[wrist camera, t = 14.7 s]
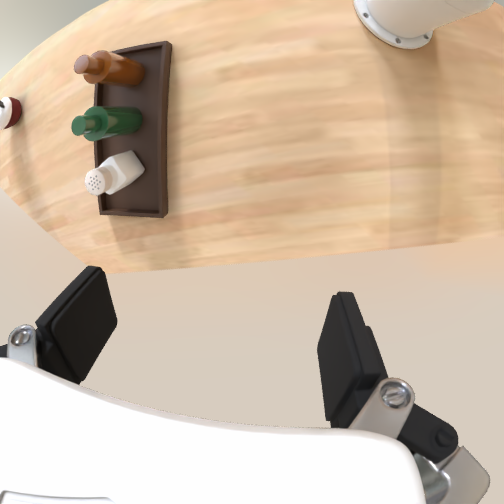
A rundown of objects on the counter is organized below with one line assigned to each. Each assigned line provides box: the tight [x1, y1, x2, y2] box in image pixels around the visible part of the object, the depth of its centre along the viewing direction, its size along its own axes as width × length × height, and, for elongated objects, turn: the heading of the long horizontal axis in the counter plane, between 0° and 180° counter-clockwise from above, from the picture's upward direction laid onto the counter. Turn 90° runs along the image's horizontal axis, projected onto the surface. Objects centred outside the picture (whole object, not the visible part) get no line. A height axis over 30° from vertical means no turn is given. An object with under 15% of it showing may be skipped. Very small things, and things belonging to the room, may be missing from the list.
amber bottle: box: [74, 50, 145, 88], centre depth 24 cm, size 4×4×12 cm
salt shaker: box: [85, 151, 145, 196], centre depth 31 cm, size 4×4×10 cm
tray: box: [94, 41, 172, 218], centre depth 32 cm, size 25×11×2 cm, turn 176°
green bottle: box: [72, 106, 143, 141], centre depth 27 cm, size 4×4×12 cm
